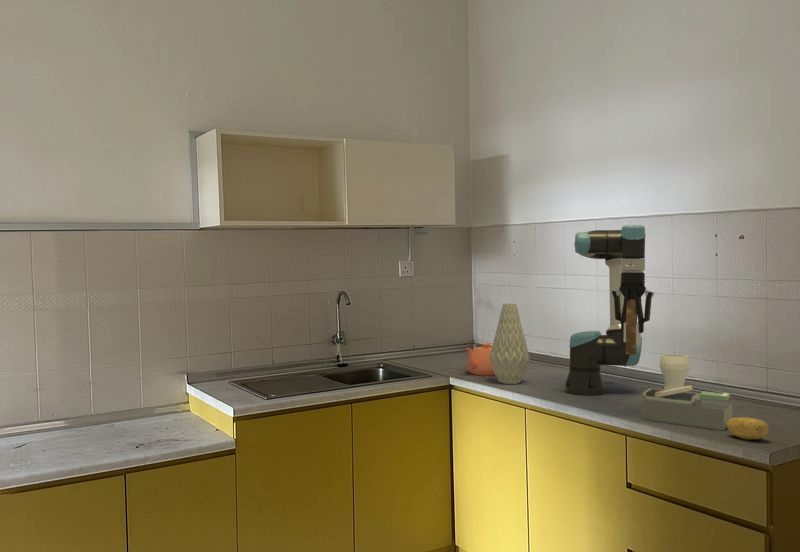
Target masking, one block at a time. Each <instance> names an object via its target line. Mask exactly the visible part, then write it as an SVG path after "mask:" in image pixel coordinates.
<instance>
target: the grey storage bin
mask: <svg viewBox="0 0 800 552" xmlns="http://www.w3.org/2000/svg"><path fill="white" fill-rule="evenodd" d="M662 390H664V391H665V389H664V388H663V389H662V388H653V387H650V388H648V389H646V390H644V391H642V400H640V420H643V421H649V422H650V421H652V422H656V423H657V422H659V423H665V424H671V425H672V424H673V425H680V426H689V427H696V428H702V429H704V428H705V429H710V430H717V431H718V430H719V431H725V430H726V429H728V428H727V423H728V421H729V420H730V419H732V418H733V403H732V402H726V401H724V402H722V401H717V400H708V399H707V400H705V399H702V398H699V394H700V393H701V392H691V391H687V392H682V393H677V394H672V395H667V396H662V397H655V394H654V393H656V392H658V391H662Z"/></svg>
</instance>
